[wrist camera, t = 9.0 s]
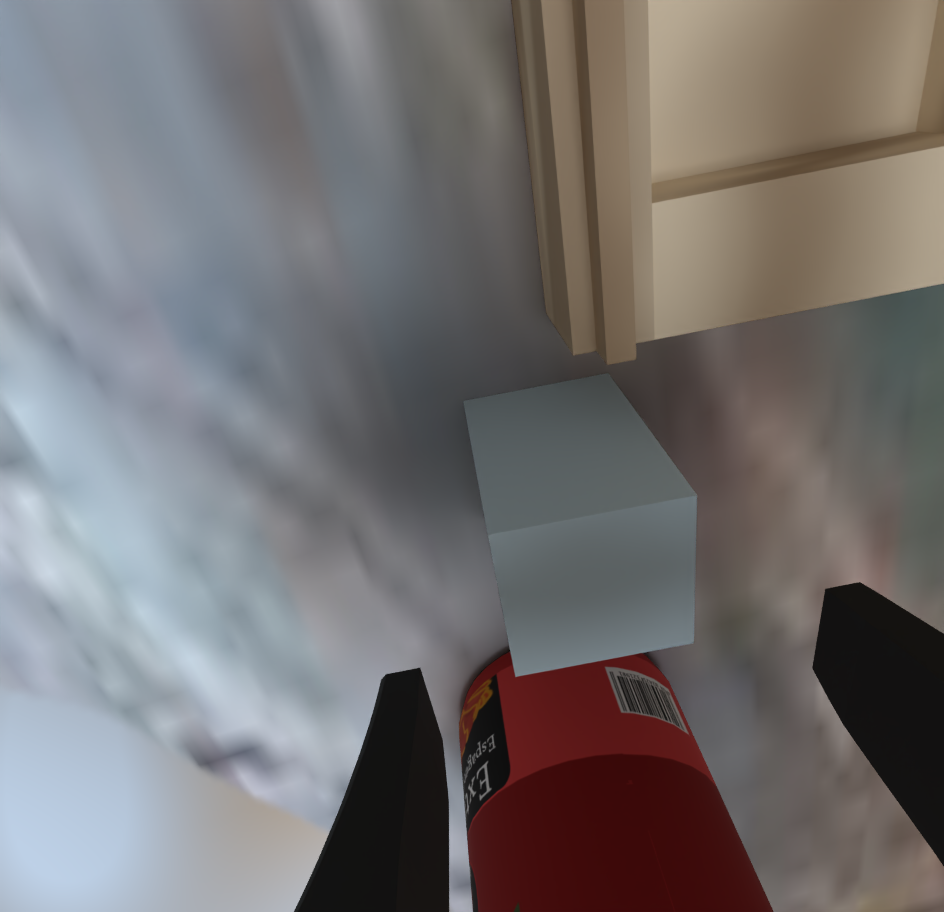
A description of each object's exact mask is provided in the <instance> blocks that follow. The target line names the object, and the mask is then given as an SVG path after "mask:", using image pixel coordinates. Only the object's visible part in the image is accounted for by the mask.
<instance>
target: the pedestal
mask: <svg viewBox="0 0 944 912" xmlns="http://www.w3.org/2000/svg"><path fill="white" fill-rule="evenodd" d="M511 2H512V11H513V20H514V29H515V38H516V47H517V56H518V65H519V74H520V83H521V92H522V101H523V110H524V119H525V128H526V137H527V146H528V155H529V164H530V173H531V182H532V191H533V200H534V209H535V218H536V227H537V236H538V245H539V254H540V263H541V272H542V281H543V290H544V299H545V308H546V314H547V315H548V317H549V318H550V320H551V322H552V323H553V325H554V326H555V328H556V329H557V331H558V332H559V334H560V336H561V337H562V339H563V340H564V342H565V343H566V345H567V346H568V348H569V349H570V351H571V353H572V354H573V356H574V355H579V354H584V353H589V352H594V351H597V352H598V354H599V355H600V356H601V358H602V359H603V360H604V362H605V363H606V364H607V365H610V364H616V363H621V362H626V361H631V360H636V343H641V342H646V341H651V340H656V339H661V338H666V337H672V336H677V335H682V334H687V333H692V332H697V331H702V330H707V329H713V328H718V327H723V326H728V325H733V324H738V323H743V322H749V321H754V320H759V319H764V318H769V317H774V316H779V315H785V314H790V313H795V312H800V311H805V310H810V309H815V308H821V307H826V306H831V305H836V304H841V303H846V302H851V301H856V300H862V299H867V298H872V297H877V296H882V295H887V294H892V293H898V292H903V291H908V290H913V289H918V288H923V287H928V286H934V285H939V284H944V0H511Z"/></svg>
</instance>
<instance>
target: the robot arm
mask: <svg viewBox="0 0 944 912" xmlns="http://www.w3.org/2000/svg"><path fill="white" fill-rule="evenodd" d="M812 668H813V670H814V672H815V674H816V676H817V678H818V680H819V682H820V683H821V685H822V687H823V689H824V691H825V693H826V695H827V697H828V699H829V700H830V702H831V704H832V706H833V707H834V709H835V711H836V713H837V714H838V716H839V718H840V720H841V721H842V723H843V725H844V726H845V728H846V729H847V731H848V732H849V733H850V735H851V736H852V738H853V739H854V741H855V742H856V743H857V745H858V746H859V748H860V749H861V751H862V752H863V753H864V755H865V756H866V758H867V759H868V760H869V762H870V763H871V765H872V766H873V768H874V769H875V770H876V772H877V773H878V775H879V776H880V777H881V779H882V780H883V781H884V783H885V784H886V786H887V787H888V788H889V790H890V791H891V793H892V794H893V795H894V797H895V798H896V800H897V801H898V802H899V804H900V805H901V807H902V808H903V809H904V811H905V812H906V814H907V815H908V816H909V818H910V819H911V821H912V822H913V823H914V825H915V826H916V827H917V829H918V830H919V832H920V833H921V834H922V836H923V837H924V839H925V840H926V841H927V843H928V844H929V846H930V847H931V848H932V850H933V851H934V853H935V854H936V855H937V857H938V858H939V860H940V861H941V863H942V864H943V866H944V634H943V633H942V632H940V631H938V630H937V629H935V628H933V627H932V626H930V625H929V624H927V623H925V622H924V621H922V620H921V619H919V618H917V617H916V616H914V615H913V614H911V613H909V612H908V611H906V610H905V609H903V608H901V607H900V606H898V605H897V604H895V603H893V602H892V601H890V600H888V599H887V598H885V597H884V596H882V595H880V594H879V593H877V592H876V591H874V590H872V589H871V588H869V587H867V586H866V585H864V584H862V583H860V582H858V583H853V584H848V585H843V586H838V587H833V588H828V589H825V595H824V601H823V607H822V613H821V619H820V625H819V631H818V637H817V643H816V649H815V655H814V661H813V667H812ZM294 912H449V799H448V789H447V778H446V768H445V758H444V749H443V740H442V737H441V733H440V730H439V727H438V724H437V720H436V717H435V714H434V711H433V708H432V704H431V701H430V698H429V695H428V692H427V688H426V685H425V682H424V679H423V676H422V672H421V669H420V668H416V669H411V670H406V671H401V672H396V673H391V674H386V675H385V676H384V677H383V679H382V680H381V683H380V687H379V692H378V696H377V699H376V703H375V707H374V710H373V714H372V717H371V720H370V724H369V727H368V730H367V733H366V736H365V739H364V742H363V745H362V749H361V752H360V755H359V757H358V760H357V763H356V766H355V768H354V771H353V774H352V777H351V779H350V782H349V785H348V788H347V790H346V793H345V796H344V799H343V801H342V804H341V806H340V809H339V811H338V814H337V816H336V818H335V821H334V823H333V826H332V828H331V830H330V833H329V835H328V837H327V840H326V842H325V845H324V847H323V850H322V852H321V854H320V856H319V859H318V861H317V863H316V866H315V868H314V870H313V872H312V875H311V877H310V879H309V881H308V883H307V885H306V888H305V890H304V892H303V894H302V896H301V898H300V900H299V902H298V905H297V906H296V909H295V911H294Z"/></svg>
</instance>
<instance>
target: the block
mask: <svg viewBox="0 0 944 912" xmlns="http://www.w3.org/2000/svg"><path fill="white" fill-rule="evenodd" d="M463 404H464V409H465V414H466V420H467V425H468V431H469V436H470V442H471V447H472V452H473V458H474V463H475V469H476V474H477V480H478V485H479V491H480V496H481V501H482V507H483V512H484V518H485V523H486V529H487V534H488V539H489V544H490V549H491V555H492V560H493V565H494V570H495V575H496V580H497V585H498V590H499V596H500V601H501V606H502V611H503V616H504V621H505V626H506V631H507V637H508V642H509V647H510V652H511V657H512V662H513V667H514V672H515V677H518V676H523V675H528V674H533V673H539V672H544V671H549V670H555V669H560V668H565V667H570V666H576V665H581V664H586V663H592V662H597V661H602V660H607V659H613V658H618V657H623V656H628V655H634V654H639V653H644V652H650V651H655V650H660V649H665V648H671V647H676V646H681V645H687V644H692V643H694V613H695V567H696V521H697V494H696V493H695V492H694V490H693V489H692V488H691V486H690V485H689V483H688V482H687V481H686V479H685V478H684V477H683V475H682V474H681V472H680V471H679V470H678V468H677V467H676V466H675V464H674V463H673V461H672V460H671V459H670V457H669V456H668V455H667V453H666V452H665V450H664V449H663V448H662V446H661V445H660V444H659V442H658V441H657V439H656V438H655V437H654V435H653V434H652V433H651V431H650V430H649V428H648V427H647V426H646V424H645V423H644V422H643V420H642V419H641V417H640V416H639V415H638V413H637V412H636V411H635V409H634V408H633V406H632V405H631V404H630V402H629V401H628V400H627V398H626V397H625V395H624V394H623V393H622V391H621V390H620V389H619V387H618V386H617V385H616V383H615V382H614V380H613V379H612V378H611V376H610V375H609V374H608V373H606V374H601V375H596V376H590V377H585V378H580V379H575V380H570V381H564V382H559V383H554V384H549V385H544V386H538V387H533V388H528V389H523V390H518V391H512V392H507V393H502V394H497V395H492V396H486V397H481V398H476V399H471V400H466V401H463Z"/></svg>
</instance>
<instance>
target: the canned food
mask: <svg viewBox="0 0 944 912" xmlns="http://www.w3.org/2000/svg"><path fill="white" fill-rule="evenodd" d="M459 738H460V751H461V764H462V777H463V789H464V802H465V815H466V828H467V841H468V854H469V866H470V879H471V892H472V905H473V912H773V909H772V907H771V905H770V903H769V901H768V898H767V896H766V894H765V892H764V890H763V887H762V885H761V883H760V881H759V879H758V876H757V874H756V872H755V870H754V868H753V865H752V863H751V861H750V859H749V857H748V855H747V852H746V850H745V848H744V846H743V844H742V841H741V839H740V837H739V835H738V833H737V830H736V828H735V826H734V824H733V822H732V819H731V817H730V815H729V813H728V811H727V808H726V806H725V804H724V802H723V800H722V797H721V795H720V793H719V791H718V789H717V786H716V784H715V782H714V780H713V778H712V775H711V773H710V771H709V769H708V767H707V764H706V762H705V760H704V758H703V756H702V753H701V751H700V749H699V747H698V745H697V742H696V740H695V738H694V736H693V734H692V732H691V729H690V727H689V725H688V723H687V721H686V718H685V716H684V714H683V712H682V710H681V707H680V705H679V703H678V701H677V699H676V696H675V694H674V692H673V690H672V688H671V685H670V683H669V681H668V680H667V679H666V678H665V676H664V675H663V674H662V673H661V671H660V670H659V669H658V668H657V667H656V666H655V665H654V664H653V663H652V662H651V661H650V659H649V658H648V657H647V656H646V655H644V654H643V653H639V654H634V655H628V656H623V657H618V658H613V659H607V660H602V661H597V662H592V663H586V664H581V665H576V666H570V667H565V668H560V669H555V670H549V671H544V672H539V673H533V674H528V675H523V676H518V677H515V672H514V667H513V662H512V657H511V652H508V653H506V654H504V655H503V656H501V657H500V658H498V659H497V660H495V661H494V662H493V663H491V664H490V665H489V666H487V667H486V668H485V669H484V670H483V671H482V672H481V674H480V675H479V676H478V677H477V678H476V679H475V680H474V682H473V684H472V685H471V687H470V689H469V690H468V692H467V696H466V699H465V703H464V706H463V710H462V714H461V718H460V722H459Z"/></svg>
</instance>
